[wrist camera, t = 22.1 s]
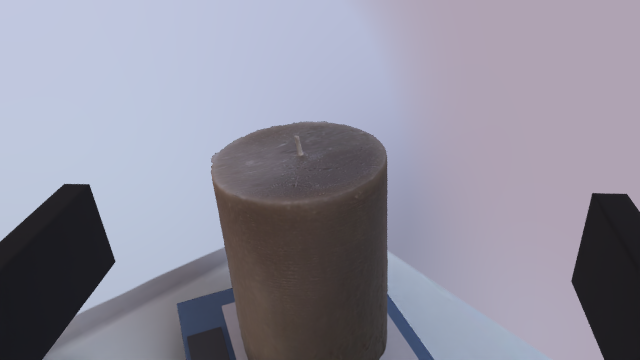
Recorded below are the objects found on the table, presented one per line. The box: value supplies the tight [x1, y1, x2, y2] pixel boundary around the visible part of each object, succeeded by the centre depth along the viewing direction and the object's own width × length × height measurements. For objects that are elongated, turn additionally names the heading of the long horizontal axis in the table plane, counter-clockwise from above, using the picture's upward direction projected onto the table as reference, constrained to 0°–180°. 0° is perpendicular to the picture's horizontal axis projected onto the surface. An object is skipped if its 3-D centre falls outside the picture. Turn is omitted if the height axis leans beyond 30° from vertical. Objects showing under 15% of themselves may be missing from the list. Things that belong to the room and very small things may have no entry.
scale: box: [177, 288, 434, 360], centre depth 35 cm, size 15×14×3 cm
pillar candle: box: [211, 121, 388, 360], centre depth 31 cm, size 10×10×15 cm
